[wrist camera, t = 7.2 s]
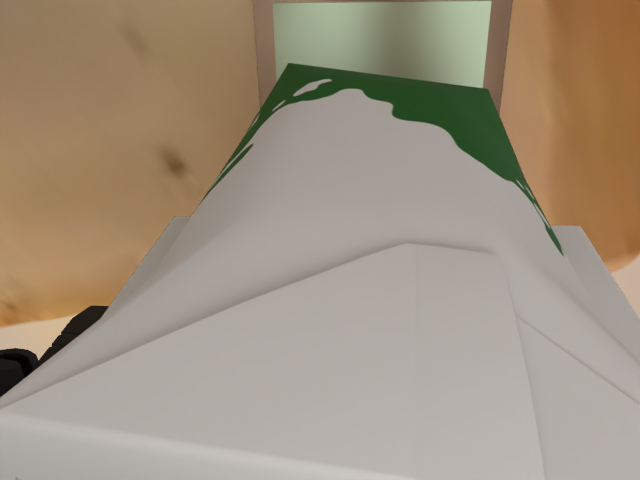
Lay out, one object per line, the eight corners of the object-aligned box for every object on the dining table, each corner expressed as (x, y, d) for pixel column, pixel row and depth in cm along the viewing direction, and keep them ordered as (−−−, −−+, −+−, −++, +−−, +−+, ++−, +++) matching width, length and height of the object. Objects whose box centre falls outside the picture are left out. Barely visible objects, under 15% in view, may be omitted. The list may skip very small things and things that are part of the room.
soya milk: (264, 32, 21) (-351, 578, 4) (525, 66, 21) (1301, 856, 3) (250, 252, 25) (-65, 1016, 8) (468, 283, 25) (669, 1155, 7)
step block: (283, 174, 39) (265, 216, 34) (272, -30, 34) (249, -20, 28) (473, 177, 38) (488, 221, 32) (494, -33, 33) (517, -24, 27)
